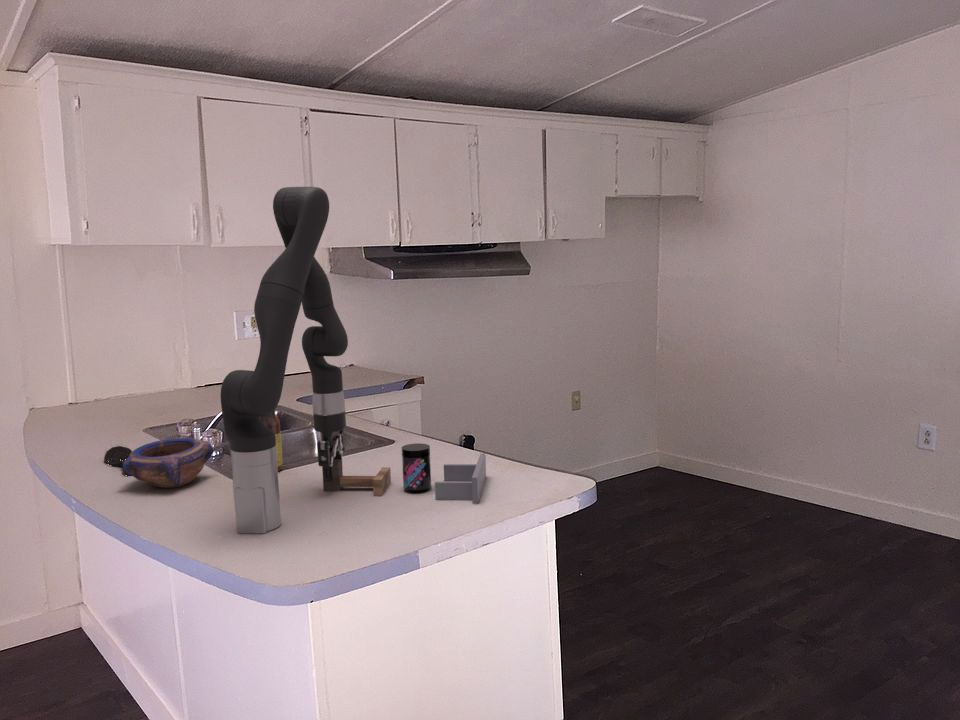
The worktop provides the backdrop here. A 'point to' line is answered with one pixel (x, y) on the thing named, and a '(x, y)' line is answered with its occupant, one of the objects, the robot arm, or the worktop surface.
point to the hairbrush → (117, 456)
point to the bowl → (169, 461)
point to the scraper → (358, 480)
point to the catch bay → (462, 473)
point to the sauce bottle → (274, 425)
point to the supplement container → (416, 468)
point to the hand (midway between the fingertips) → (333, 476)
